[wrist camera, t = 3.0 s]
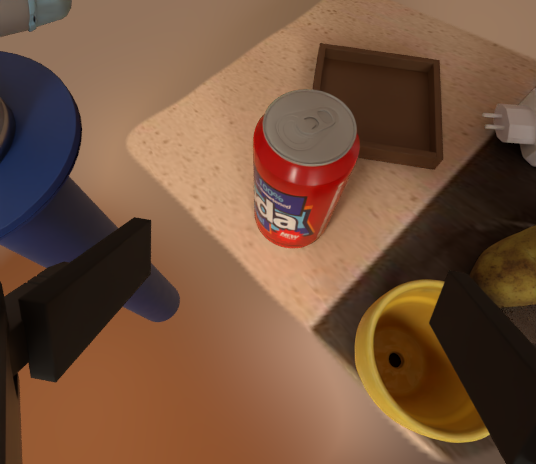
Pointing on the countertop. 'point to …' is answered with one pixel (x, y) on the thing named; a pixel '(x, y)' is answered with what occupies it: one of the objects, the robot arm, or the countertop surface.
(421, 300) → the flower pot
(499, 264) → the potato
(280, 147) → the soda can
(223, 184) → the countertop surface
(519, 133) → the charger
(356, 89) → the rectangular tray
